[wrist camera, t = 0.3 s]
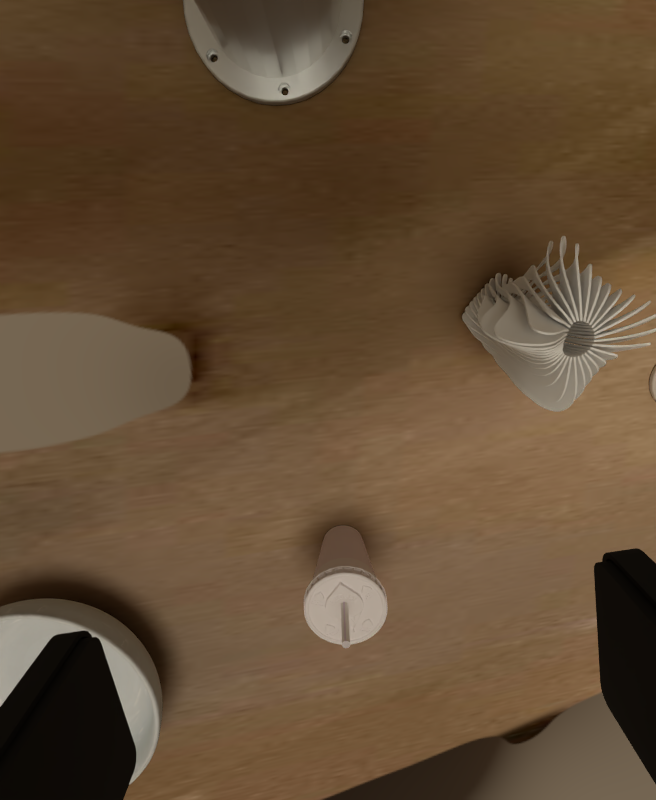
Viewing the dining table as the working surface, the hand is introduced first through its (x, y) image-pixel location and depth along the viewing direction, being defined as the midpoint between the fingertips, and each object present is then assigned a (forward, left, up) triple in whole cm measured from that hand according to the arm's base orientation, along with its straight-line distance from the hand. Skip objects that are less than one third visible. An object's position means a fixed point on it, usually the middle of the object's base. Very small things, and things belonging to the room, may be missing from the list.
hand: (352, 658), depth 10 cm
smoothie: (+19, -2, -36) cm, 41 cm away
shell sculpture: (-1, +13, -36) cm, 39 cm away
